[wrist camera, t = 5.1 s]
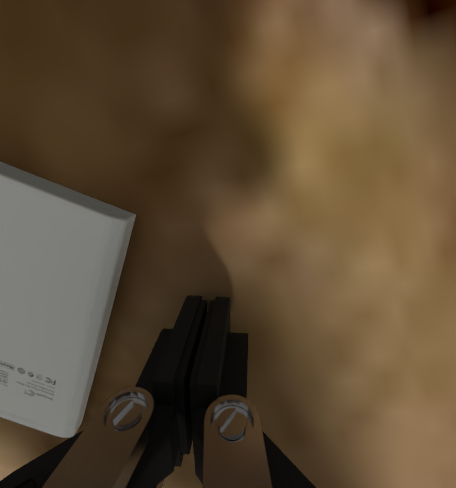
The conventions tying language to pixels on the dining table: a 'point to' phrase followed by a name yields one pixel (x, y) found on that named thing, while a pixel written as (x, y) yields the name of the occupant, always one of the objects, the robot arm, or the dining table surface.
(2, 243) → the external hard drive
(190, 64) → the dining table surface
